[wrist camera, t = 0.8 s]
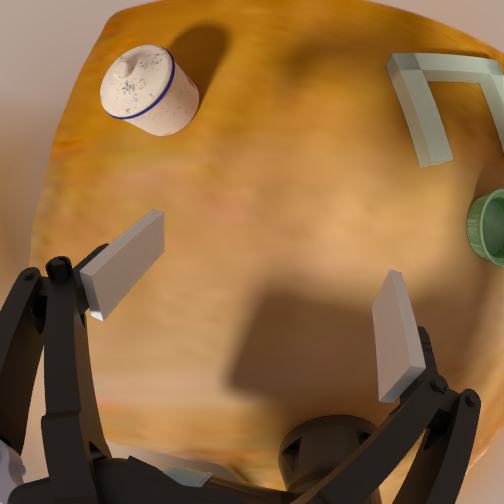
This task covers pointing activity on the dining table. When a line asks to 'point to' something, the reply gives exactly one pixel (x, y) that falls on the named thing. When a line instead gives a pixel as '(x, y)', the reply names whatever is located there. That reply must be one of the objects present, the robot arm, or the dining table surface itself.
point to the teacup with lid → (149, 91)
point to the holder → (422, 102)
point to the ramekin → (487, 227)
